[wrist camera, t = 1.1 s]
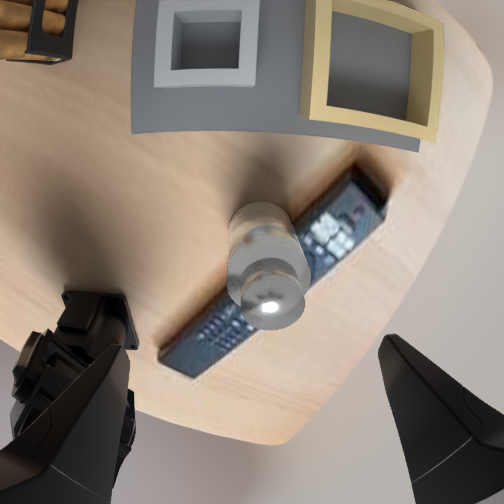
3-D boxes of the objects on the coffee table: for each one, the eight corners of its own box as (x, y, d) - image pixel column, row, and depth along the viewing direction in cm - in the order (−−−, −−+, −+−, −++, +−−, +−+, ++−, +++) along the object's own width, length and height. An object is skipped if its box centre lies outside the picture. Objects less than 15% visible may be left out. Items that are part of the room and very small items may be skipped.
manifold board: (407, 147, 18) (439, 162, 14) (139, 130, 16) (116, 140, 13) (416, 20, 13) (450, 12, 9) (145, -11, 11) (124, -32, 8)
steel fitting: (288, 258, 22) (310, 338, 15) (228, 258, 21) (226, 339, 14) (295, 202, 19) (327, 268, 13) (228, 200, 19) (225, 267, 12)
